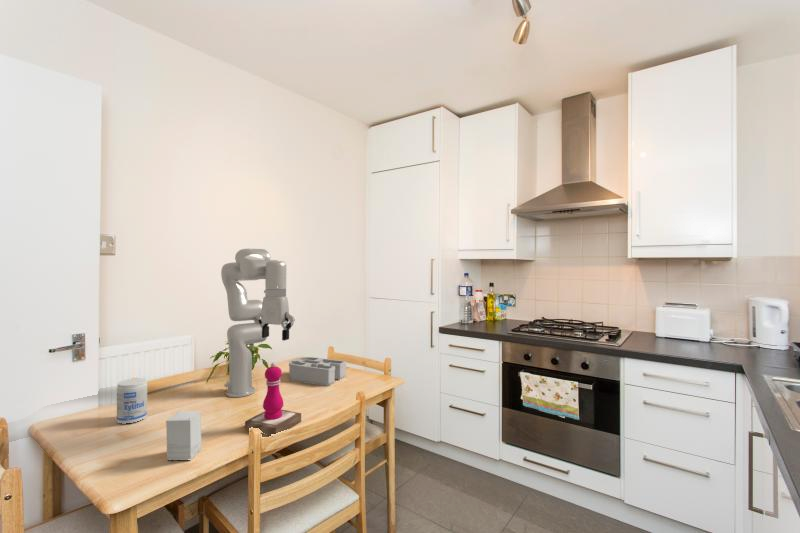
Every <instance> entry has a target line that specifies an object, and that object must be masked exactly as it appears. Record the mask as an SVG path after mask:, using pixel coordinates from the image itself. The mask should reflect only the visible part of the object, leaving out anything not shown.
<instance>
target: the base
mask: <svg viewBox="0 0 800 533" xmlns="http://www.w3.org/2000/svg"><path fill="white" fill-rule="evenodd" d="M281 410H282V416H281V417H280V418H278V419H274V420H268V419H265V417H264V413H265V410H264V411H262V412H261V413H258V414H256V415H254V416H253V417H250V418H249V419H247V420H245V421H244V430H245V431H246V430H249V428H251V427H253V428H259V429H260V430H261V431H262V432H263V433H265V434H267V435H266V436H268V435H271V434H276V433H278V432H281V431H284V430H287V429H289V430H290V429H292V428H293V427H295V426H296V425H299V424H300V423H301V422H302V412H296V411H291V410H288V409H287V410H285V409H282V408H281ZM287 431H288V430H287Z"/></svg>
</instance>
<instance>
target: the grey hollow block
mask: <svg viewBox="0 0 800 533" xmlns="http://www.w3.org/2000/svg"><path fill="white" fill-rule="evenodd" d="M346 365H347V361H345V360H339V359H330V358H324V357H323V358H322V357H314V356H307V357H306V356H304V357H297V358H293V359H290V360H289V361H288V366H289V372H288V375H289V378H290V380H291V381H294V382H299V383H303V382H304V383H305V384H310V383H311V384H312V385H318V386H322V387H323V386H325V387H330V386H332V385H334V384H335V382H336V381H335V379H338V380H337V381H341V380H343V379H344V377H345V378H346V375H347V374H346V373H347V372H346V367H347V366H346ZM342 378H343V379H342ZM340 379H341V380H340ZM333 383H334V384H333ZM311 384H310V385H311ZM331 384H332V385H331Z"/></svg>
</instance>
